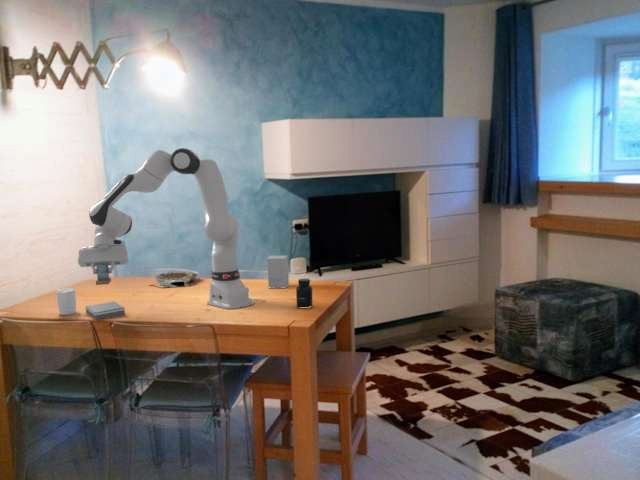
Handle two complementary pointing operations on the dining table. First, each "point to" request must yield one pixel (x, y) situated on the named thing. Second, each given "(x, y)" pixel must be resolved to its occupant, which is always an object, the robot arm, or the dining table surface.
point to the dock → (105, 310)
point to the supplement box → (277, 271)
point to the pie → (174, 278)
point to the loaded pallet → (102, 274)
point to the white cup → (66, 301)
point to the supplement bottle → (304, 293)
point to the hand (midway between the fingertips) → (102, 272)
